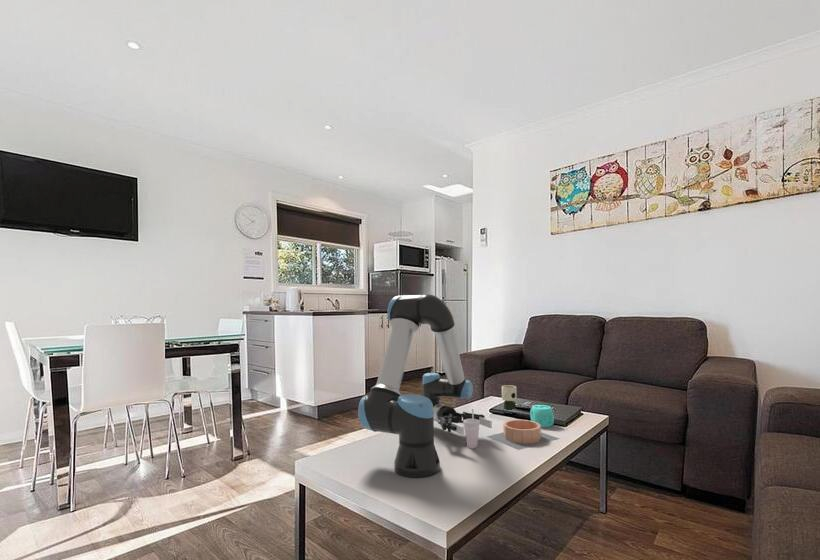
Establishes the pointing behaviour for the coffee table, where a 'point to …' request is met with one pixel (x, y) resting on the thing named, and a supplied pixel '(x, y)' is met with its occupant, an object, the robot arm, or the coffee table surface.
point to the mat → (519, 446)
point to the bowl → (522, 431)
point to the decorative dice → (542, 415)
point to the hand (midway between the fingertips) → (477, 427)
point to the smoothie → (471, 431)
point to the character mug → (509, 396)
